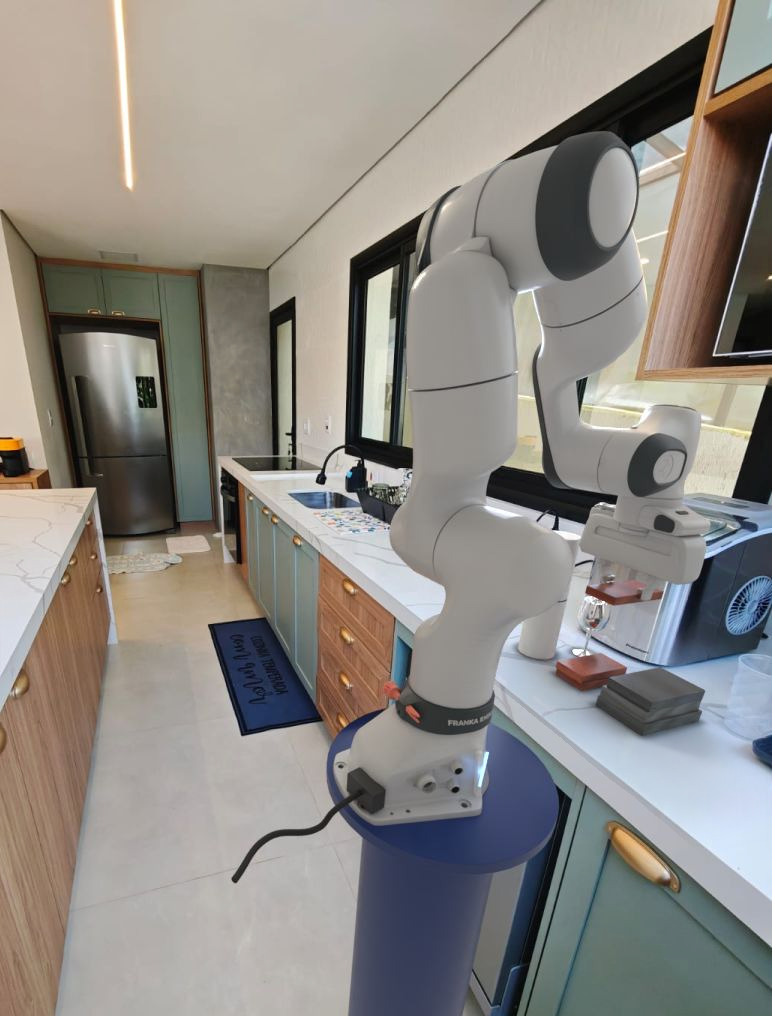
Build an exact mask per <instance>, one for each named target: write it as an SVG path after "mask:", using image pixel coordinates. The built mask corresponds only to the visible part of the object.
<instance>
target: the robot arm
mask: <svg viewBox="0 0 772 1016" xmlns="http://www.w3.org/2000/svg"><path fill="white" fill-rule="evenodd" d="M639 177H640V174H639V169H638V164H637V160H636V158H635V155H634V153H633V151H632V150H631V149H630V147H629V146H628V145H627V144H626V143H625V142H624V141H623V140H622V139H621V138H620V137H619V136H618V135H616V134H615V133H614V132H612V131H605V130H603V131H589V132H584V133H581V134H576V135H571V136H569V137H567V138H565V139H563V140H562V141H561V142H560V143H559V144H557V145H553V146H550V147H546V148H543V149H540V150H536V151H534V152H530V153H528V154H525V155H522V156H520V157H518V158H516V159H515V158H514V159H507V160H504V161H503V162H500V163H499V164H497V165H494V166H492V167H491V168H489V169H487V170H485V171H483V172H482V173H480V174H477V176H476V175H475V177H473V178H471V179H470V180H468V181H467V182H465V183H464V184H462V185H457V186H454V187H452V188H450V189H448V190H447V191H446V192H445V193H443V194H442V195H441V196H439V198H437V199H436V200H435V201H434V202H433V203H432V204H431V205H430V207H428V209H427V210H426V211H425V213H424V214H423V217H422V219H421V221H420V224H419V227H418V231H417V235H416V242H415V251H414V252H415V254H414V257H415V268H416V269H415V270H416V274H417V275H416V276H417V277H416V278H415V279H414V281H413V283H412V285H411V289H410V291H409V295H408V306H407V315H406V317H407V318H406V339H405V340H406V345H405V347H406V348H405V349H406V350H405V351H406V353H405V354H406V355H405V357H406V359H405V360H406V376H407V377H406V378H407V388H408V391H407V392H408V402H409V412H410V413H409V414H410V426H411V438H412V439H411V440H412V441H411V442H412V470H411V478H410V484H409V487H408V488H409V489H408V493H407V496H406V498H405V501H404V502H403V503H402V504H401V505H400V506H399V507H398V508H397V510H396V511H395V513H394V515H393V516H392V519H391V522H390V526H389V533H388V537H389V543H390V546H391V549H392V551H393V552H394V553H395V555H396V556H397V557H398V558H399V559H400V560H401V561H402V562H403V563H404V564H405V565H406V566H408V567H409V568H410V569H411V570H412V571H413V572H414V573H416V574H418V575H419V576H422V577H424V578H425V579H428V580H430V581H431V582H434V583H436V584H437V585H440V586H442V587H443V588H444V592H445V593H444V594H445V597H444V598H445V599H444V602H443V606H442V609H441V611H440V613H437V614H434V615H432V616H430V617H428V618H426V619H425V620H424V621H422V622H421V623H420V624H419V625H418V626H417V628H416V630H415V631H414V634H413V641H412V642H413V643H412V650H411V651H412V653H411V660H410V661H411V662H410V670H409V675H408V676H407V678H406V679H405V682H404V683H403V685H402V688H400V687H399V686H398V685H397V684H396V683H395V682H394V680H393V681H392V680H388V681H386V682H384V684H383V685H382V693H384V694H385V695H386V696H387V698H388V699H389V700H391V701H394V700H395V701H394V703H393V704H391V705H390V706H388V707H386V708H387V709H386V710H385V711H383V712H382V713H381V714H379V715H378V716H377V717H375V718H374V719H372V720H371V721H370V722H368V723H367V724H365V725H364V726H363V727H361V728H360V729H359V730H358V731H357V732H356V734H355V736H354V738H353V741H352V745H351V748H350V749H347V750H345V751H342V752H340V753H338V754H337V755H336V756H335V759H334V765H333V773H334V777H335V781H336V783H337V786H338V788H339V790H340V792H341V794H342V795H343V797H344V799H343V800H342V801H341V802H339V803H338V804H337V805H334V806H333V807H331V808H330V810H329V811H328V812H327V813H326V814H325V816H324V818H323V819H322V820H321V821H320V822H319V823H318V824H316V825H313V826H311V827H305V828H283V829H276V830H273V831H270V832H267V834H265V835H263V836H262V837H261V838H259V839H257V841H256V842H255V843H254V844H253V845H251V847H250V849H249V850H248V852H247V853H246V855H245V857H244V858H243V859H242V861H241V862H240V865H239V866H238V868H237V869H236V871H235V873H234V874H233V875H232V876H231V882H232V883H233V884H237V883H238V882H240V880H241V878H242V876H243V875H244V873H245V872H246V871H247V869H248V867H249V865H250V863H251V861H252V860H253V858H254V857H255V856H256V854H257V853H258V851H259V850H260V849H261V848H262V847H263V846H264V845H266V844H267V843H269V842H270V841H272V840H274V839H277V838H281V837H305V836H310V835H315V834H317V833H319V832H321V831H323V830H324V829H325V828H326V827H327V826H328V825H329V823H330V822H331V820H332V819H333V817H334V816H336V815H337V814H338V813H339V811H340V810H341V809H342V808H343V807H345V806H346V805H348V804H349V806H350V807H351V808H352V809H353V810H354V812H355V813H357V814H358V815H359V816H360V817H361V818H362V819H364V820H365V821H367V822H368V823H370V824H372V825H375V826H383V825H394V824H403V823H413V822H423V821H433V820H442V819H452V818H462V817H471V816H478V815H480V814H481V812H482V796H483V794H484V793H485V791H486V789H487V787H488V784H489V775H488V770H487V758H488V754H489V752H486V736H487V725H488V724H489V722H490V723H491V721H492V717H493V713H494V705H495V700H496V699H495V697H496V693H495V690H494V686H495V680H496V677H497V671H498V667H499V662H500V660H501V659H500V658H501V655H502V651H503V648H504V646H505V644H506V642H507V640H508V637H509V636H510V635H511V633H512V632H513V631H514V630H515V629H516V627H517V626H519V625H520V624H521V623H523V621H524V620H526V619H528V618H532V617H535V616H538V615H540V614H542V613H544V612H545V611H547V610H548V609H550V608H551V607H552V606H554V605H555V604H556V603H557V602H558V601H559V600H560V598H561V597H562V596H563V594H564V593H565V591H566V589H567V588H568V585H569V583H570V580H571V576H572V571H573V558H572V553H571V549H570V546H569V544H568V543H567V541H566V540H565V539H564V538H563V537H562V536H561V535H559V534H557V533H556V532H554V531H552V529H551V528H549V527H547V526H546V525H544V524H542V523H540V522H538V521H536V520H535V519H533V518H531V517H528V516H525V515H522V514H519V513H518V514H517V513H514V512H510V511H507V510H503V509H499V508H497V507H496V508H495V507H491V506H489V504H488V500H487V487H488V484H489V480H490V476H491V474H492V473H493V472H495V471H496V470H497V469H499V468H500V467H501V466H503V465H504V464H505V463H507V461H508V460H509V459H510V458H511V457H512V456H513V454H514V452H515V450H516V448H517V447H518V440H519V384H518V383H519V382H518V381H519V371H518V370H519V361H518V359H519V358H518V357H519V356H518V342H517V341H518V339H517V328H516V320H515V312H514V305H515V302H516V299H517V296H518V295H519V294H524V293H527V292H531V294H532V297H533V302H534V307H535V311H536V315H537V318H538V321H539V325H540V328H541V342H539V345H538V346H537V347H536V349H535V351H534V354H533V358H532V365H531V375H532V376H531V377H532V385H533V393H534V401H535V406H536V412H537V417H538V425H539V429H540V435H541V443H542V445H541V447H542V449H541V450H542V451H541V466H542V471H543V474H544V476H545V478H546V479H547V482H549V484H550V485H551V486H552V487H555V488H557V489H566V490H581V491H587V492H593V493H599V494H605V495H613V496H617V499H616V504H609V503H607V502H599V503H597V504H595V505H594V506H593V507H591V509H590V511H589V516H588V519H587V520H586V523H585V525H584V528H583V531H582V533H581V535H580V536H581V539H580V543H579V549H580V552H582V553H583V554H587V555H589V556H593V557H596V558H599V559H598V562H597V565H598V567H599V571H600V574H601V575H600V580H599V584H604V583H612V582H615V580H616V578H617V576H616V575H614V574H613V571H612V565H614V564H615V565H619V566H622V567H624V568H627V569H630V570H632V571H635V572H638V573H641V574H645V575H647V576H646V582H648V583H647V584H645V585H646V586H645V587H644V588H638V590H637V594H636V597H637V598H638V599H641V600H643V601H645V602H649V601H648V600H650V599H651V597H652V594H653V590H655V589H659V587H660V586H661V585H663V583H664V582H667V583H671V584H673V585H676V586H681V585H688V584H689V585H690V584H692V583H693V582H695V581H696V580H698V578H699V577H700V574H701V571H702V568H703V565H704V561H705V556H706V552H707V541H706V540H705V537H704V536H703V535H704V534H705V535H706V534H708V532H709V531H710V528H711V525H712V524H711V521H710V520H709V519H708V518H707V517H704V516H702V515H701V514H699V513H698V512H695V511H694V510H692V508H691V509H690V508H689V506H686V504H684V503H683V501H684V496H685V483H686V480H687V478H688V477H689V474H690V473H691V471H692V469H693V466H694V464H695V459H696V456H697V451H698V447H699V442H700V437H701V429H702V414H701V413H700V412H699V411H698V410H696V409H695V408H693V407H689V406H684V405H677V404H663V403H662V404H654V405H649V406H647V407H646V408H645V409H644V411H643V412H642V414H641V417H640V420H639V422H638V423H636V424H635V425H632V426H630V428H629V427H628V428H627V427H625V428H620V427H619V428H618V427H607V426H605V427H603V426H596V425H593V424H589V423H586V422H585V421H583V420H582V419H581V418H580V410H579V401H578V400H579V399H578V390H577V389H578V388H577V381H579V380H582V379H584V378H587V377H589V376H592V375H594V374H597V373H599V372H600V371H602V370H604V369H606V368H607V367H609V366H610V365H612V364H613V363H615V362H616V361H617V360H618V359H619V358H621V357H622V356H623V355H624V354H625V353H626V352H627V351H628V350H629V349H630V348H631V347H632V345H633V344H635V342H636V340H637V339H638V337H639V336H640V334H641V332H642V330H643V328H644V326H645V324H646V323H645V322H646V320H647V316H648V315H647V314H648V291H647V285H646V280H645V274H644V268H643V263H642V258H641V254H640V250H639V245H638V242H637V237H636V235H635V232H634V228H633V225H634V222H635V220H636V215H637V212H638V205H639V199H640V178H639ZM572 577H573V576H572ZM464 807H465V808H464ZM363 808H365V809H363Z"/></svg>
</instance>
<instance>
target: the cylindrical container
mask: <svg viewBox="0 0 772 1016" xmlns="http://www.w3.org/2000/svg"><path fill="white" fill-rule="evenodd" d="M551 530H552V529H551ZM552 531H554V532H556V533H557V534H559V535H561V536H562V537H563V538H564V539H565V540H566V541H567V543H568V544H569V546H570V549H571V553H572V558H573V571H572V576H571V580H570V583H569V585H568V588H567V589H566V591H565V593H564V594H563V596H562V597H561V598H560V600H559V601H558V602H557V603H556V604H555V605H554V606H552V607H551V608H550V609H548V610H547V611H545V612H544V613H542V614H540V615H538V616H535V617H532V618H528V619H526V620H524V621H522V626H521V629H520V630H521V631H520V636H519V642H518V646H517V650H518V651H519V652H520V653H521V654H522V655H524V656H526V657H529V658H532V659H536V660H550V659H553V658H554V657H555V654H556V650H557V645H558V641H559V637H560V634H561V633H560V632H561V628H562V624H563V620H564V616H565V611H566V606H567V602H568V597H569V594H570V589H571V584H572V580H573V575H574V572H575V571H574V570H575V567H576V563H577V559H578V554H579V549H580V546H579V543H580V539H581V536H582V535H580V534H576V533H574V532H571V531H570V532H569V531H563V530H554V529H553V530H552Z"/></svg>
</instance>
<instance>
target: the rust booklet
mask: <svg viewBox="0 0 772 1016" xmlns="http://www.w3.org/2000/svg"><path fill="white" fill-rule="evenodd" d="M646 585H647V584H645V583H642V582H639V581H638V580H635V579H630V580H622V581H621V580H620V581H614V582H612V583H604V584H601V583H596V584H589V585H586V587H585V590H584V594H586V595H588V596H589V597H595V598H597V599H599V600H601V601H604V602H606V603H608V604H611V606H613V607H615V606H622V605H631V604H637V603H643V602H646V601H643V600H641V599H638V598H637V597H636V594H637V590H638V588H644V587H645V586H646ZM663 595H664V590H662V589H659V588H656V589H655V590H653V594H652V597H651V599H650V600H648V601H647V602H651V601H658V600H662V598H663Z"/></svg>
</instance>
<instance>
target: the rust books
mask: <svg viewBox="0 0 772 1016" xmlns="http://www.w3.org/2000/svg"><path fill="white" fill-rule="evenodd" d="M555 668H556V669H555V675H556V676H558V677H559V678H561V679H563V680H564V681H565V682H567V683H569V684H570V685H571V686H573V687H575V688H576V689H578V690H579V691H581V692H584V691H587V690H593V689H598V688H602V686H604V685H607V683H608V680H609V677H613V676H618V675H623V674H627V670H628V667H627V666H625V665H624V664H622V663H620V662H619V661H617V660H615V659H613V658H611V657H610V656H607V655H606V654H604V653H602V652H599V653H594V654H593V655H587V656H582V657H578V656H576V657H572V658H565V659H561V660H557V661H556V665H555Z"/></svg>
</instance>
